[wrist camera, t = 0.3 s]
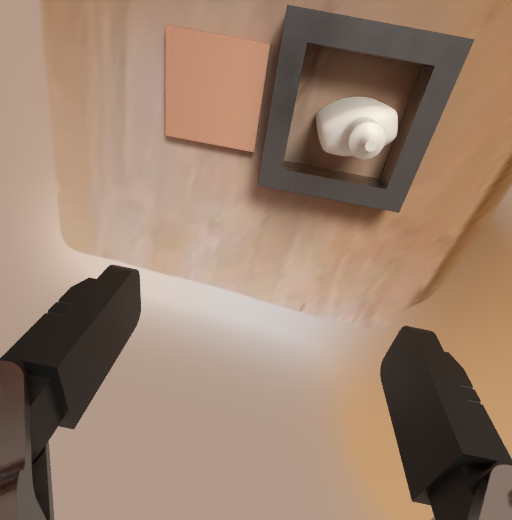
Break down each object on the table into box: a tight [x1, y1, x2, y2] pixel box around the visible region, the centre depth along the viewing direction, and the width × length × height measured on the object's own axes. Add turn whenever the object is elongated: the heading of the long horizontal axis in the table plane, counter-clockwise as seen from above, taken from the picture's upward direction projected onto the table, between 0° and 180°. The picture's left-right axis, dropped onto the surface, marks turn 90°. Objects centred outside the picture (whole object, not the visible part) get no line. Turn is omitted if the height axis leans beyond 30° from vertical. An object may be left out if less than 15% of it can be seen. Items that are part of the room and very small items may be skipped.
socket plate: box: [258, 5, 474, 213], centre depth 28 cm, size 14×14×3 cm
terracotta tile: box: [165, 25, 271, 152], centre depth 30 cm, size 9×9×1 cm
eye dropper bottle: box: [316, 97, 398, 160], centre depth 25 cm, size 4×6×12 cm
